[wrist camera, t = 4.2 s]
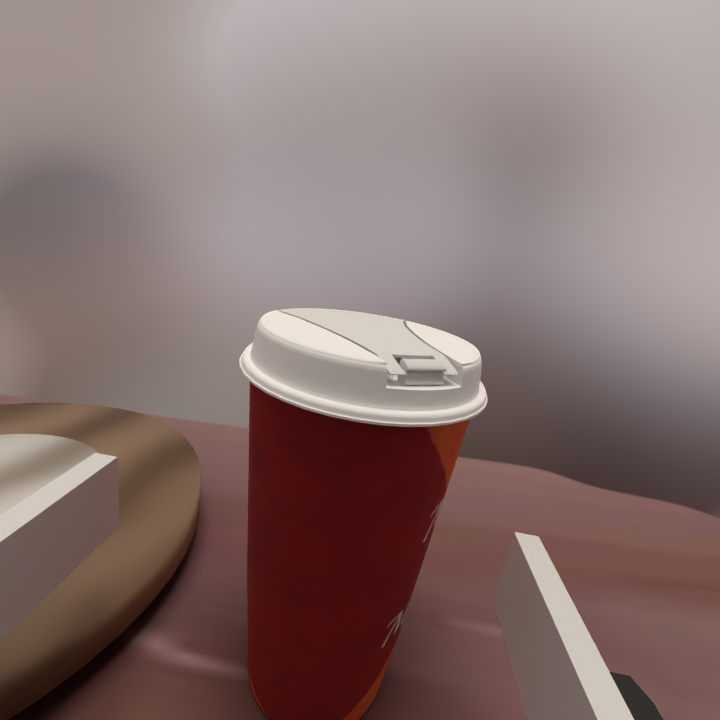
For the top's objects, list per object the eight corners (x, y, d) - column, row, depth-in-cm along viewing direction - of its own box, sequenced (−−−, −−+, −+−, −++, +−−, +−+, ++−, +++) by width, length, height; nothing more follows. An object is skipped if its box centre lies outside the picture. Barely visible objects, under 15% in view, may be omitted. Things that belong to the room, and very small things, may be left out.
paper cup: (445, 725, 14) (560, 373, 10) (227, 833, 10) (270, 370, 7) (361, 560, 20) (410, 312, 17) (212, 595, 17) (229, 296, 13)
